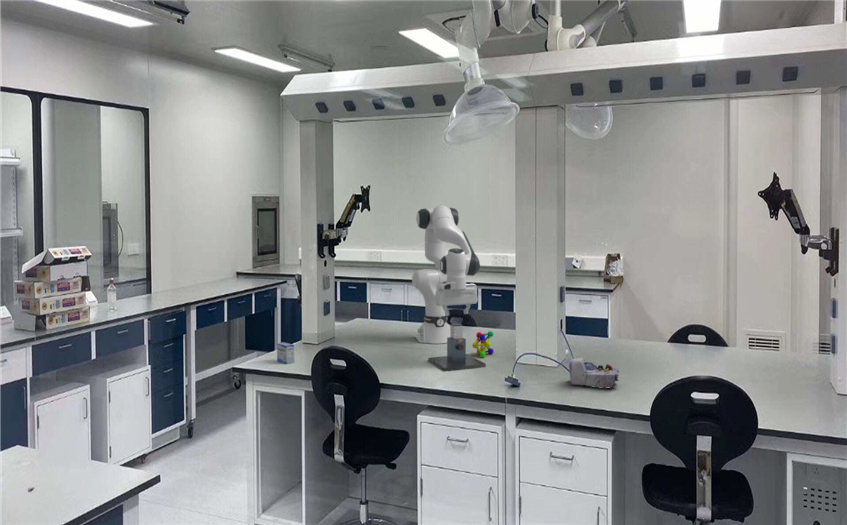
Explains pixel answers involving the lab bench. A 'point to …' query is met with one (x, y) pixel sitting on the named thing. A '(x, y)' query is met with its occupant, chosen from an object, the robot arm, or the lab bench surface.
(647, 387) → the lab bench surface
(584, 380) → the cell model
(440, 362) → the dark grey socket base
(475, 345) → the molecular model
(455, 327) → the post
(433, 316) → the robot arm
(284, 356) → the medicine box
